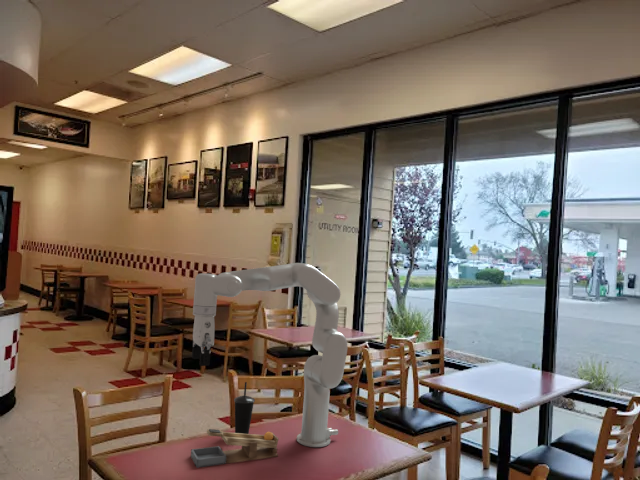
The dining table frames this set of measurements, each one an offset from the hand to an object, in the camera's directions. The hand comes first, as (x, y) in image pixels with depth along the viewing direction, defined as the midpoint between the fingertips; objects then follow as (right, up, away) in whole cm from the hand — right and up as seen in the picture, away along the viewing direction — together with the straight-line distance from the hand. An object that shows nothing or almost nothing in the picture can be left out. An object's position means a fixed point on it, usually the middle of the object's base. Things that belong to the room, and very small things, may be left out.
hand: (200, 362), depth 164 cm
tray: (+3, -31, -3) cm, 32 cm away
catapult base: (+16, -32, +3) cm, 36 cm away
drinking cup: (+11, -33, +19) cm, 39 cm away
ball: (+22, -28, +7) cm, 36 cm away
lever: (+13, -28, +5) cm, 31 cm away
